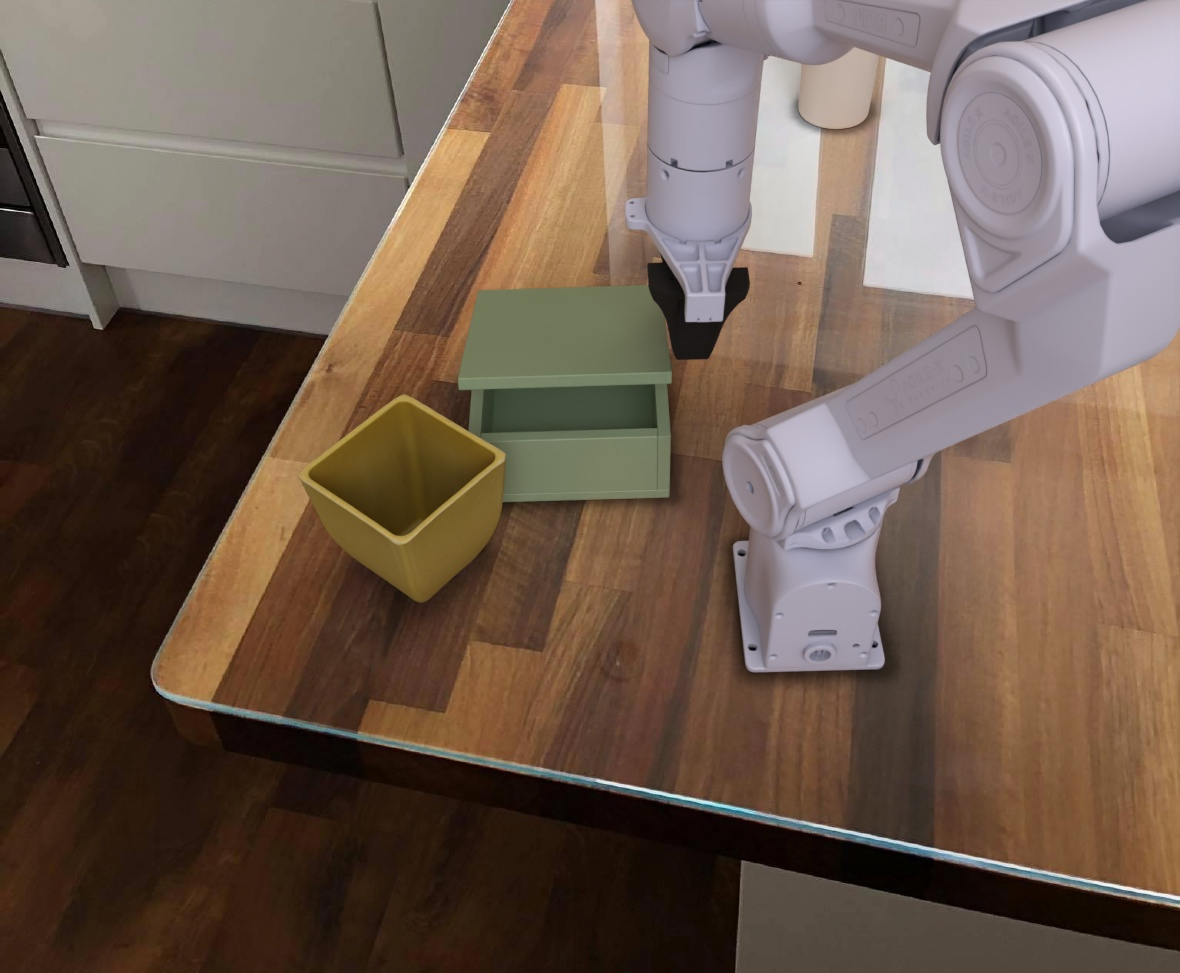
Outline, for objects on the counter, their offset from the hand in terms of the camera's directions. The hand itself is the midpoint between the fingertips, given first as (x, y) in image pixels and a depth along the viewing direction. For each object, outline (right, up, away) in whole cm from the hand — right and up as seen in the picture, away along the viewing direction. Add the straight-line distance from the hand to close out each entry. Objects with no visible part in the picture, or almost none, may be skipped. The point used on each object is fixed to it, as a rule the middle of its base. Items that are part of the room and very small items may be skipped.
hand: (689, 330), depth 75 cm
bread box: (-7, -5, +9) cm, 13 cm away
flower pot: (-17, -14, +2) cm, 22 cm away
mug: (+16, +25, +36) cm, 47 cm away
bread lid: (-8, 0, +3) cm, 8 cm away
